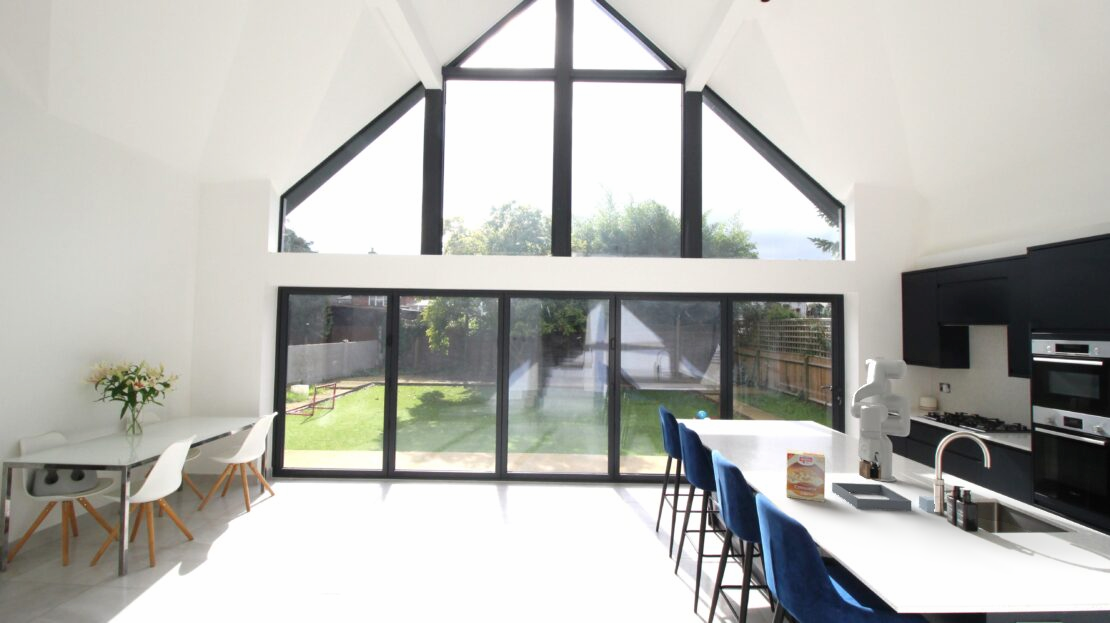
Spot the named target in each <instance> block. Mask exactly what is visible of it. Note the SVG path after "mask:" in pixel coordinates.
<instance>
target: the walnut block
mask: <svg viewBox="0 0 1110 623" xmlns="http://www.w3.org/2000/svg"><path fill="white" fill-rule="evenodd" d="M858 463H859V464H858V467H859V468H858V470H859V472H858V476H861V478H864V479H866V480H874V479H878V480H881V465H880V467H879V478H870V468H871V464H870V462H867V461H860V460H859V462H858ZM874 464H876V463H873V465H874ZM878 480H877V481H878Z"/></svg>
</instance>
